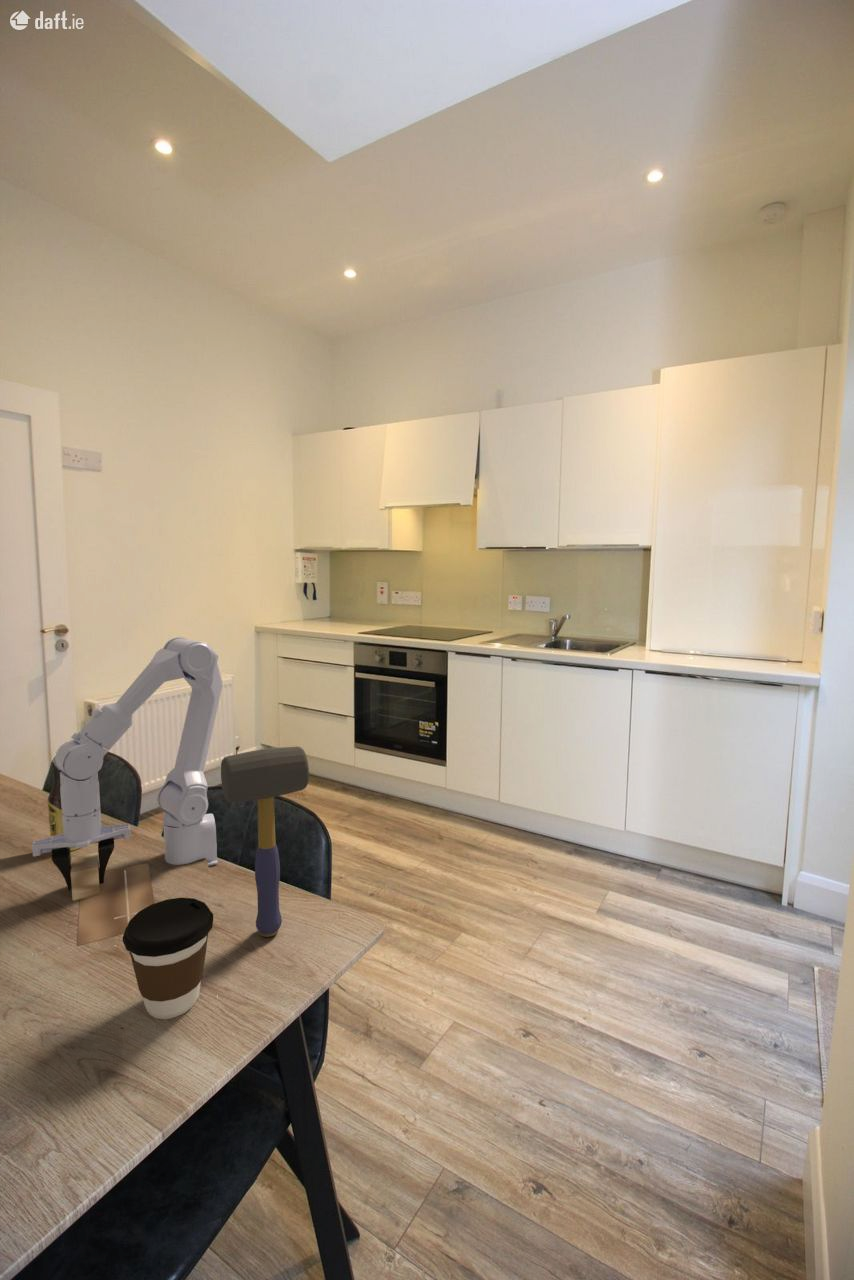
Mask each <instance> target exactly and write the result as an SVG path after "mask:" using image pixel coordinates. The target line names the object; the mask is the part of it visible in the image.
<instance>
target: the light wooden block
mask: <svg viewBox="0 0 854 1280" xmlns="http://www.w3.org/2000/svg"><path fill="white" fill-rule="evenodd" d="M71 885H72V890H71V896H72V897H71V898H72V899H71V900H72V901H73V902H74V901H79V900H80V899H82V898H87V897H91V896H96V895H100V884H99V855H98V851H97V852H91V853H88V854H87V853H86V854H82V855H77V856H71Z"/></svg>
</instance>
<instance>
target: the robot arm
mask: <svg viewBox="0 0 854 1280" xmlns="http://www.w3.org/2000/svg"><path fill="white" fill-rule="evenodd" d="M218 660H219V655H218V654H217V652H216V651H215V650H214V649H213V648H212V647H211V646H210V644H208V643H207V642H205V641H200V640H198V641H197V640H193V639H188V638H185V637H182V636H181V637H178V636H177V637H173V638H171V639H169V640H168V641H167V642H166V643H165V644H164V646H163V647H161V648H160V649H158V650H157V651H156V652H155V654H154V656H153V657H152V658H151V660H150V662H149V663H148V664H147V666H146V667H145V668H144V669H143V670H142V671H141V673H139V675H138V676H137V677H136V679H134V681H133V682H132V683H131V685H130V686H129V687H128V688H127V689H126V691H124V693H123V694H122V695H121V696H120V697H119V699H118V700H117V701H116V702H114V703H110V704H105V705H103V706H102V707H101V708H100V709H99V708H96V709H94V711H92V712H91V715H92V716H93V717H92V718H91V719H90V720H89V721H88V722H87V723H86V724H85V725H84V726H83V727H82V729H81V730H80V731H79V732H75V733H74V734H72V735H71V739H70V740H69V741H65V742H64V743H62V745H60V746H59V747H58V749H57V750H56V753H55V756H54V757H53V759H52V760H53V761H54V764H55V766H56V767H57V768H58V769H59V770H61V771H62V772H60V782H61V787H60V793H61V808H62V820H63V833H62V834H59V835H56V836H52V837H50V836H49V837H46V838H42V839H37V840H33V842H32V846H31V848H32V857H38V856H41V855H42V854H45V853H50V852H51V861H52V862H53V864H54V865H55V867H57V869H58V870H59V871H60V874H61V875H62V877H63V879H64V881H65V883H66V887H67V890H68V892H69V891H72V885H71V865H72V856H71V854H72V853H71V852H70V848H73V847H75V848H79V849H81V848H87V847H89V846H91V845H92V844H97V852H98V857H99V884H102V883H104V875H105V872H106V869H107V867H108V863H109V860H110V858H111V855H112V853H113V851H114V849H115V840H120V839H123V840H128V839H131V838H132V837H131V834H132V833H131V825H130V824H131V823H126V824H117V825H115V824H114V825H103V824H102V813H101V811H102V810H101V797H100V781H99V776H98V775H99V771H101V769H102V767H103V764H104V758H105V756H106V754H108V752H109V751H110V750H111V749H112V748H113V747H114V745H116V743H117V742H118V741H119V740H120V739H121V738H122V736H124V734H126V732H127V731H128V730H129V729H130V728H131V726H132V725H133V714H134V713H135V712H136V711H137V710H138V709H139V708H140V707H141V706H142V705H143V704H144V703H145V702H146V701H147V700H148V699H149V698H150V697H151V696H152V695H154V693H155V692H156V691H157V690H158V689H160V688H161V686H162V685H163V684H164V683H166V682H170V681H175V680H180V679H184V680H185V681H186V683H187V684H188V685H189V686H190V688H191V693H190V696H189V701H188V706H187V711H186V715H185V720H184V724H183V728H182V733H181V736H180V737H181V738H180V740H179V741H180V742H179V747H178V751H177V755H176V759H175V765H174V767H173V768H172V770H170V771H169V772H168V773H167V774H166V779H165V781H164V783H163V785H162V786H161V787H160V789H159V791H158V792H157V798H156V800H157V805H158V806H159V808H160V809H161V810H163V813H164V814H163V818H162V824H163V825H162V826H163V842H164V843H163V845H164V846H163V847H164V849H163V850H164V861H165V862H166V863H168V864H169V865H179V866H181V865H187V864H190V863H193V862H197V861H200V860H203V859H205V860H206V864H207V865H208V867H209V866H215V865H217V864H218V863H219V861H218V854H217V853H218V851H217V849H218V848H217V847H218V846H217V828H216V820H215V816H214V814H213V813H207V812H208V810H209V801H208V800H209V799H208V794H207V792H208V789H209V787H208V783H207V779H206V777H205V774H204V773H205V772H204V770H205V766H206V761H207V757H208V753H209V747H210V743H211V739H212V735H213V731H214V726H215V721H216V717H217V712H218V707H219V702H220V698H221V694H222V689H223V679H222V676H221V672H220V668H219V664H218Z"/></svg>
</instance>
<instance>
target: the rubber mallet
mask: <svg viewBox="0 0 854 1280" xmlns="http://www.w3.org/2000/svg"><path fill="white" fill-rule="evenodd" d="M309 769H310V768H309V762H308V757H307V754H306V752H305V750H304V749H303V748H302V747H301V746H286V747H272V748H263V749H257V750H251V751H246V752H240V753H236V754H231V755H226V756H225V757H224V758H223V759H222V760H221V763H220V781H221V782H220V783H221V789H222V794H223V797H224V800H225V801H226V802H227V803H231V804H232V803H241V802H250V801H257V834H258V835H257V838H258V840H257V841H258V845H257V848H256V850H255V851H256V853H255V861H254V877H255V884H256V885H255V886H256V892H257V895H256V896H257V915H256V918H255V927H256V929H257V931H258V933H259V935H260V936H262V937H266V938H269V937H272V936H275V935H277V934H278V932H279V930H280V928H281V926H282V923H283V921H282V920H283V917H282V914H281V911H280V895H279V894H280V892H279V891H280V890H279V888H280V881H281V880H280V878H281V867H280V866H281V864H280V863H281V862H280V855H279V848H278V846H277V844H276V825H275V822H276V821H275V819H276V818H275V817H276V816H275V798H276V797H279V796H284V795H288V794H292V793H296V792H299V791H303V790H305V789H306V787H308V784H309V778H310V770H309Z"/></svg>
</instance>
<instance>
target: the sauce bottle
mask: <svg viewBox="0 0 854 1280" xmlns="http://www.w3.org/2000/svg"><path fill="white" fill-rule="evenodd" d="M51 768H52V770H53V771H52V772H53V779H52V781H53V782H52V785H51V790H50V792H49V795H48V798H47V810H48V823H49V834H50V836H49V837H52V836H56V835H59V834H62V833H63V820H62V808H61V793H60V787H61V782H60V772H62V771H61V770H59V769H58V768H57V767H56V766H55V764H54V761H53V759H51ZM77 850H80V848H75V847H73V848H70V853H71V852H75V851H77Z"/></svg>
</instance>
